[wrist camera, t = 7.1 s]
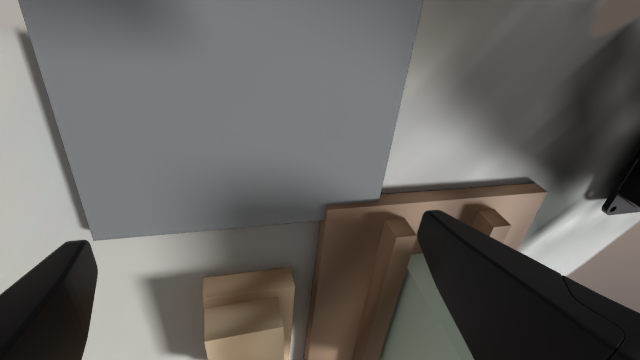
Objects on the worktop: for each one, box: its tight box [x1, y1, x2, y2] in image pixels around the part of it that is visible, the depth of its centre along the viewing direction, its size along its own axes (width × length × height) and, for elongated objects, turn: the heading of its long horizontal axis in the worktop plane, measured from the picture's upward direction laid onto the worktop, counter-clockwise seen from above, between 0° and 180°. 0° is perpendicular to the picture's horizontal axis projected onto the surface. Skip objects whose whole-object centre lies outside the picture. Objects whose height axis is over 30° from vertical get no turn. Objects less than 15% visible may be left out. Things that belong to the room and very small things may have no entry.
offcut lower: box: [202, 267, 295, 360], centre depth 23 cm, size 5×8×2 cm, turn 174°
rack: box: [304, 183, 547, 360], centre depth 25 cm, size 14×18×2 cm
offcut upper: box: [204, 297, 284, 360], centre depth 22 cm, size 4×7×2 cm, turn 177°
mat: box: [18, 0, 423, 241], centre depth 16 cm, size 14×12×1 cm
